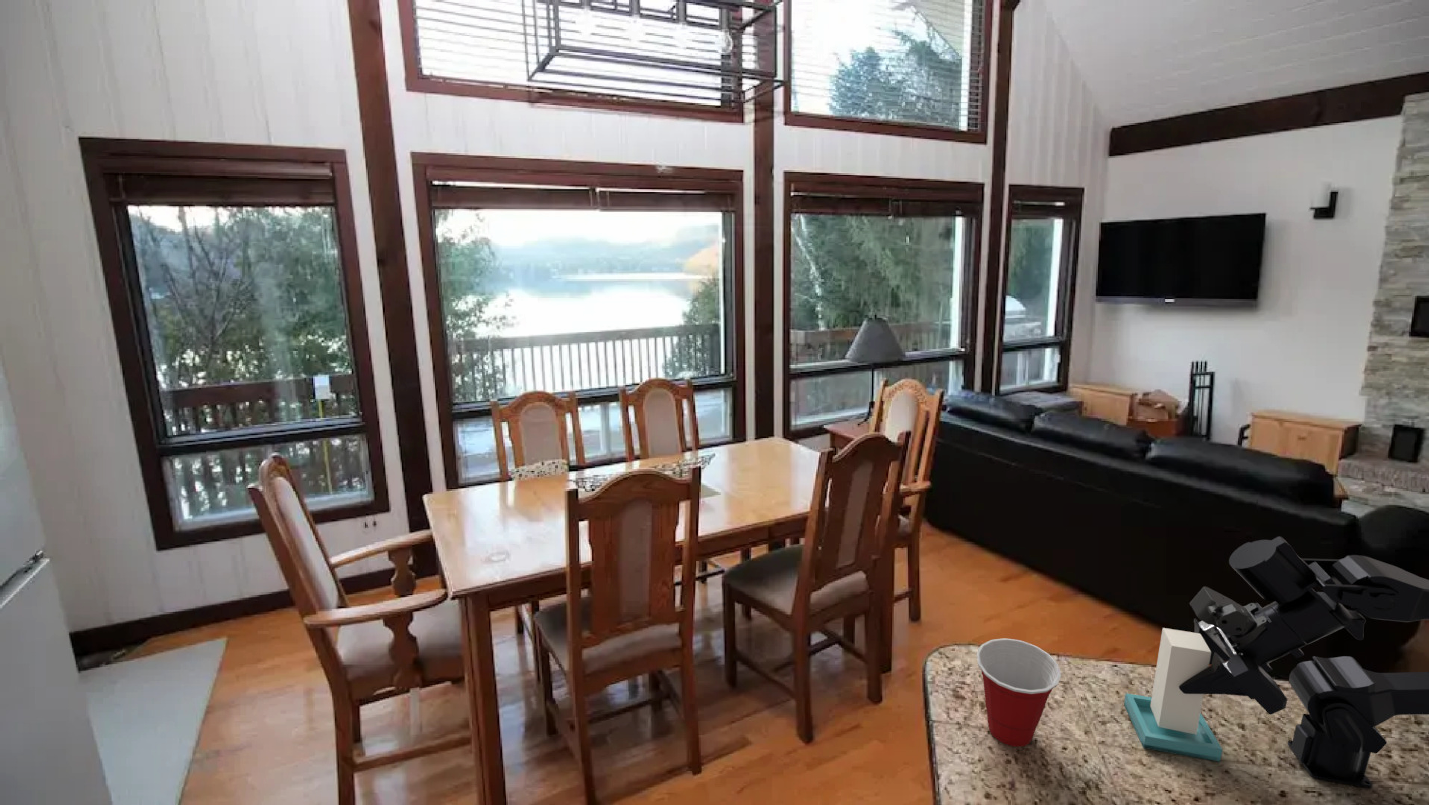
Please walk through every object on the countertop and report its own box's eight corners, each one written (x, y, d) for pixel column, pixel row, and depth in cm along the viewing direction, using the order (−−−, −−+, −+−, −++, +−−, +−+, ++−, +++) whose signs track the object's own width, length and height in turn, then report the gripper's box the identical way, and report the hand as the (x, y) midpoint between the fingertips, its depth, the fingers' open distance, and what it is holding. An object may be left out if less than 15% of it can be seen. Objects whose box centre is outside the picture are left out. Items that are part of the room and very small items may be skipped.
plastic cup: (964, 745, 92) (971, 672, 89) (974, 698, 101) (980, 630, 98) (1051, 773, 87) (1061, 696, 84) (1052, 721, 96) (1062, 650, 93)
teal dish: (1193, 715, 97) (1195, 704, 96) (1219, 761, 88) (1222, 749, 88) (1123, 704, 99) (1125, 693, 99) (1143, 748, 91) (1145, 736, 90)
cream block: (1186, 713, 94) (1200, 633, 91) (1196, 734, 90) (1211, 652, 87) (1150, 706, 96) (1162, 627, 93) (1158, 727, 92) (1171, 645, 89)
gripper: (1217, 547, 94) (1120, 602, 101) (1272, 615, 77) (1151, 676, 84) (1274, 605, 93) (1172, 657, 100) (1342, 687, 76) (1214, 743, 83)
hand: (1175, 679), depth 92 cm, fingers closed on cream block, 4 cm apart
